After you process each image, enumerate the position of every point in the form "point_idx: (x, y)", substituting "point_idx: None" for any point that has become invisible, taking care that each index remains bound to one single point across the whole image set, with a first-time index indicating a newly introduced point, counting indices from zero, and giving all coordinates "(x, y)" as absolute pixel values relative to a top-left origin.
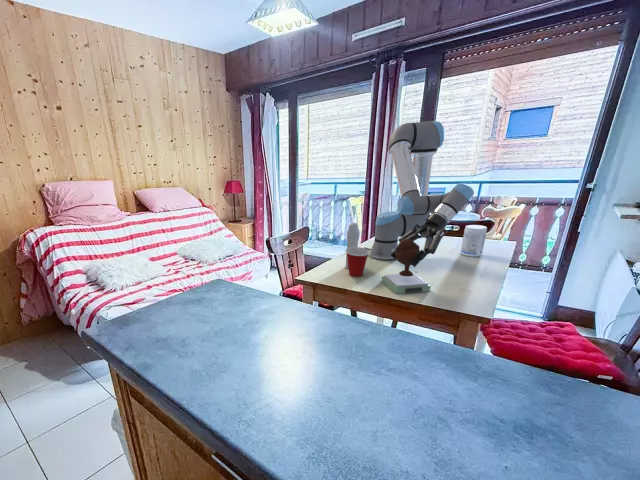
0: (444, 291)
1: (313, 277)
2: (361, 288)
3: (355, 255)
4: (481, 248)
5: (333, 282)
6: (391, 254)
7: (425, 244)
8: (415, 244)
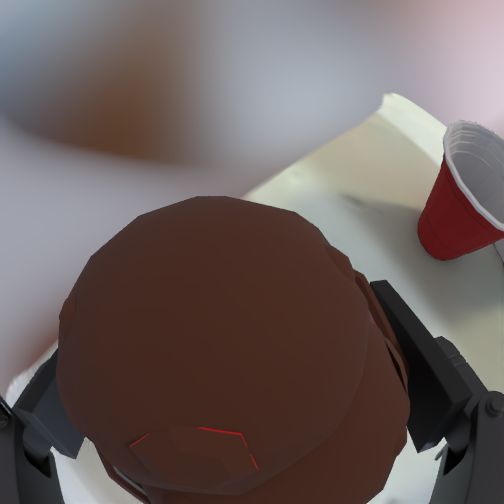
0: None
1: (411, 116)
2: (291, 187)
3: (444, 135)
4: None
5: (367, 137)
6: (382, 284)
7: (11, 485)
8: (153, 490)
